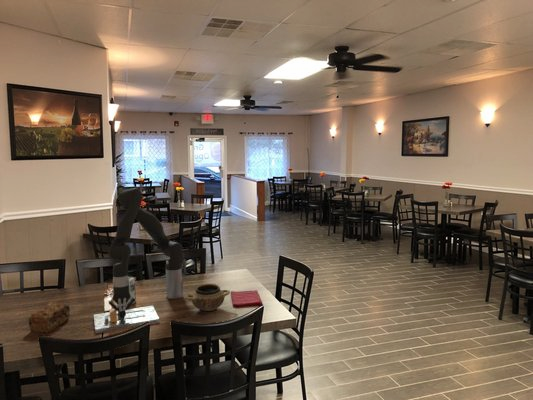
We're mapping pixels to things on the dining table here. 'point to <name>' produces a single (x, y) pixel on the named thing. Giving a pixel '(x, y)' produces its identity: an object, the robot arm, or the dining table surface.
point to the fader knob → (113, 315)
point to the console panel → (125, 319)
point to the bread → (49, 317)
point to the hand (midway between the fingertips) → (122, 317)
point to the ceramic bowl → (207, 297)
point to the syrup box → (132, 289)
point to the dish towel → (245, 298)
